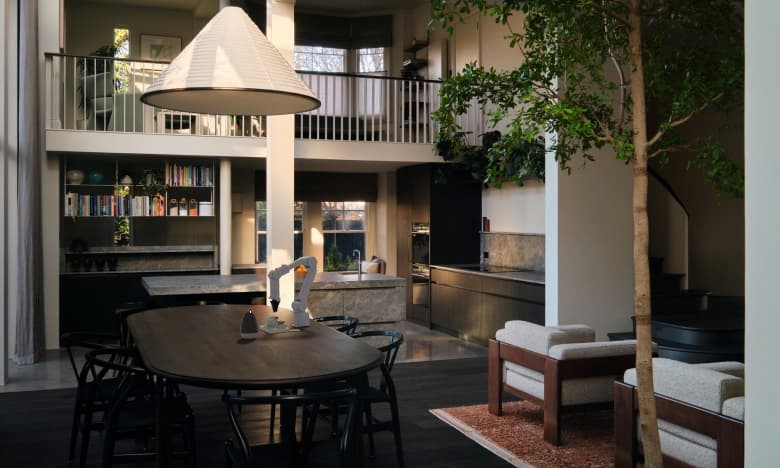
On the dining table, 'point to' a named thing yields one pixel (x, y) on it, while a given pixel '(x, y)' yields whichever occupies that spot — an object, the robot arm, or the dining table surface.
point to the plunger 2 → (280, 322)
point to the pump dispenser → (249, 326)
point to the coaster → (294, 330)
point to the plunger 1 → (275, 318)
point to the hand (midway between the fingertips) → (275, 312)
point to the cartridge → (270, 322)
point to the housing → (275, 328)
